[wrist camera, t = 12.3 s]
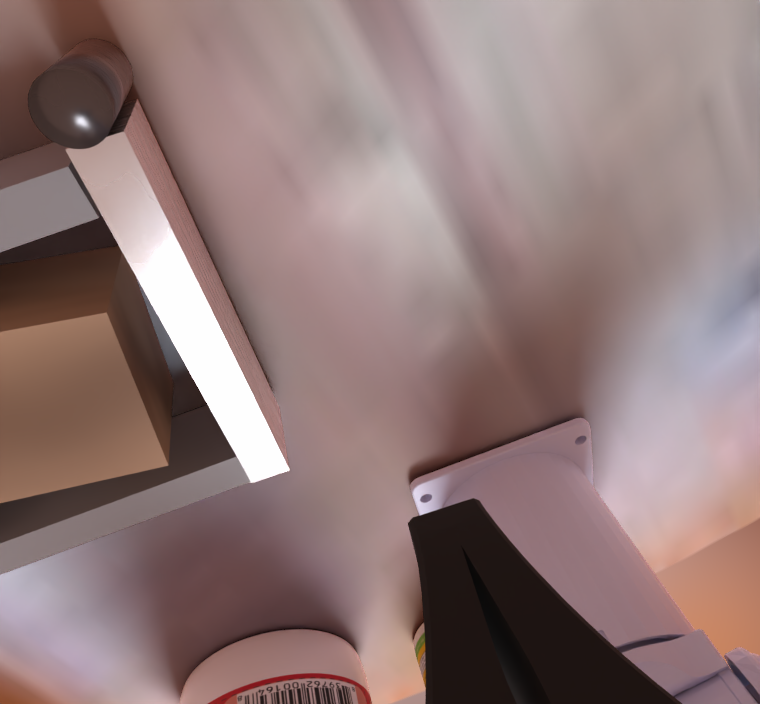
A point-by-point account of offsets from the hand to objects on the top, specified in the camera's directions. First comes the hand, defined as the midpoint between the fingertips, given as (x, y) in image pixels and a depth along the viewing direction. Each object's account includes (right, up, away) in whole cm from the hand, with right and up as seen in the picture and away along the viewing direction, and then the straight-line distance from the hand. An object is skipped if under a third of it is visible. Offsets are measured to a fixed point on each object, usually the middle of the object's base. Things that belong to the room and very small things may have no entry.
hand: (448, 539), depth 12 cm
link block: (-11, +4, +6) cm, 13 cm away
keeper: (-7, +6, +6) cm, 11 cm away
